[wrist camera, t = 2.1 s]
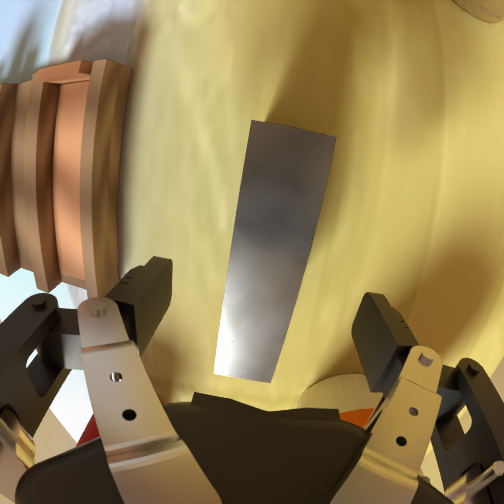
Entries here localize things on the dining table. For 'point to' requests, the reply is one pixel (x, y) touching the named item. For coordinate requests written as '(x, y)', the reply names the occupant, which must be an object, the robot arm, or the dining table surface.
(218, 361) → the panel
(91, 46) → the dining table surface
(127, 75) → the rack
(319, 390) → the reusable coffee cup
